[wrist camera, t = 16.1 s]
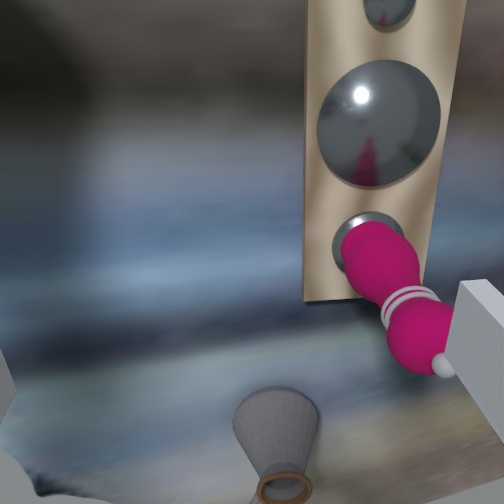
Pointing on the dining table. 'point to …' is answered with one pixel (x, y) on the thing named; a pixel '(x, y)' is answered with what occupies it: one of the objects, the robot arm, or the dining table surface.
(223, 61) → the dining table surface
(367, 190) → the tan flat board
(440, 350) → the pepper mill
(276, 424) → the coffee pot
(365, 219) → the flange
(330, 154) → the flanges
